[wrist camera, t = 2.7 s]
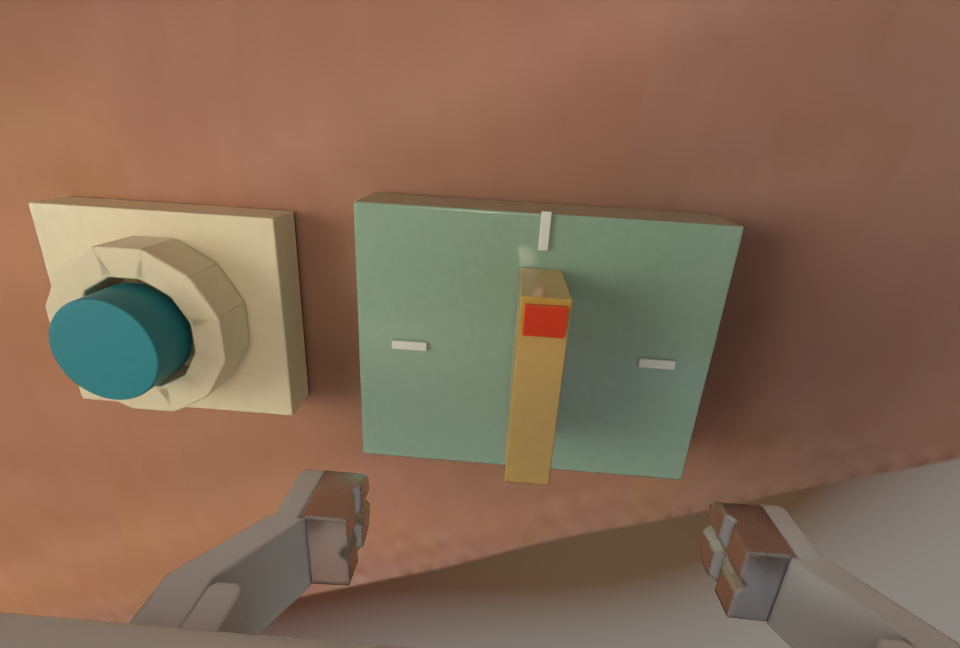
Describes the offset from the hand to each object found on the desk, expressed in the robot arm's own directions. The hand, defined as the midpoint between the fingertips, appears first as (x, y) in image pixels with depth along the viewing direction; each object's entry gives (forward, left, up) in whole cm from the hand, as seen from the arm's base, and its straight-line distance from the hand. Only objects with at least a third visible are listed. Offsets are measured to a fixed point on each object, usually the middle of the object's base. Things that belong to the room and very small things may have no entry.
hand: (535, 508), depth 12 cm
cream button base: (+15, 0, -12) cm, 19 cm away
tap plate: (0, 0, -12) cm, 12 cm away
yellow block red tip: (0, 0, -8) cm, 8 cm away
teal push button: (+15, 0, -8) cm, 17 cm away
